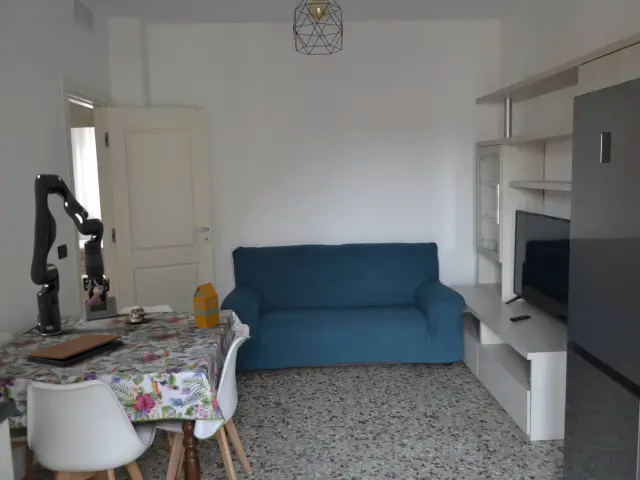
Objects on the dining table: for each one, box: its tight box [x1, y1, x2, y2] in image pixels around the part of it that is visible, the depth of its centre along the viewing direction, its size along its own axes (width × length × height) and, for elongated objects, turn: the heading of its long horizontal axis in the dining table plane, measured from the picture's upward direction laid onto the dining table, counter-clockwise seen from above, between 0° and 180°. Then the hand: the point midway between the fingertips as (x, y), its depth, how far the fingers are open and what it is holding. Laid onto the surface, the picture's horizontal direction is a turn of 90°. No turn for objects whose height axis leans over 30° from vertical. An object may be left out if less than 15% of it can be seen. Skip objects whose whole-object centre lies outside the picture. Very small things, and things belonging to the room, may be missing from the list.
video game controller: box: [86, 291, 109, 307], centre depth 251 cm, size 10×5×7 cm, turn 170°
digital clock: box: [82, 295, 119, 321], centre depth 294 cm, size 16×9×11 cm, turn 103°
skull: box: [124, 305, 151, 324], centre depth 283 cm, size 12×10×10 cm
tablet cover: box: [26, 333, 123, 359], centre depth 236 cm, size 21×30×1 cm
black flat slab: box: [26, 339, 123, 368], centre depth 236 cm, size 21×30×2 cm
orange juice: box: [192, 282, 221, 330], centre depth 269 cm, size 8×9×20 cm
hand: (97, 300), depth 252 cm, fingers closed on video game controller, 6 cm apart
